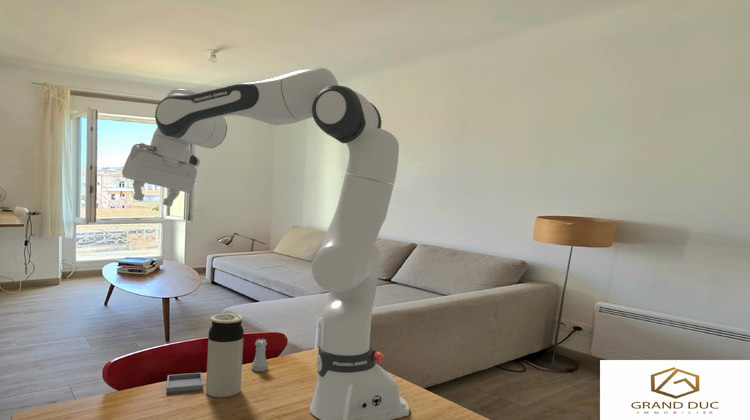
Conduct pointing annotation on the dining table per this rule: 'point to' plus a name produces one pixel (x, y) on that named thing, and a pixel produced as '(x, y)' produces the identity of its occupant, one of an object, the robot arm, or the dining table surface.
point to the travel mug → (224, 355)
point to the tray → (184, 383)
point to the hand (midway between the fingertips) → (152, 202)
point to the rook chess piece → (260, 357)
